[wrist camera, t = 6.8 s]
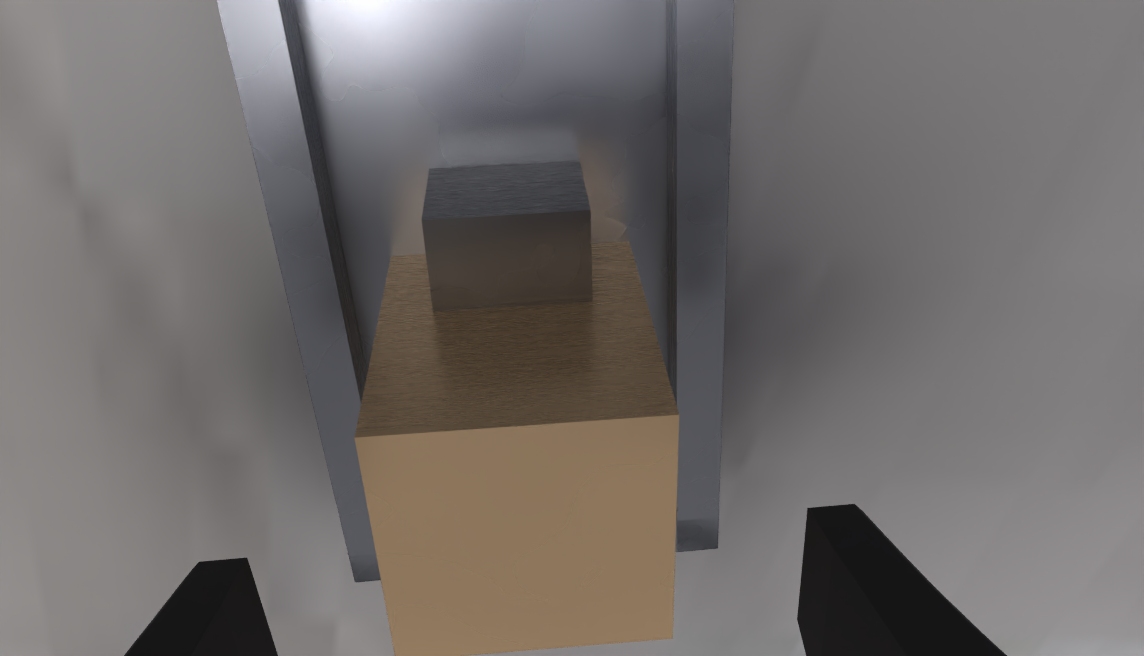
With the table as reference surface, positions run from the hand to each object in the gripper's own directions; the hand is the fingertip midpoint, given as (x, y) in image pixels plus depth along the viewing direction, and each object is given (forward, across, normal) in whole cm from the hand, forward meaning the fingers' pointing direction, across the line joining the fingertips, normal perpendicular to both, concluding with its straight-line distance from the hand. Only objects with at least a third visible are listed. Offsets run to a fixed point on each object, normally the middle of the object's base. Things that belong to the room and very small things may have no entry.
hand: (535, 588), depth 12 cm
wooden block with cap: (+6, 0, 0) cm, 6 cm away
